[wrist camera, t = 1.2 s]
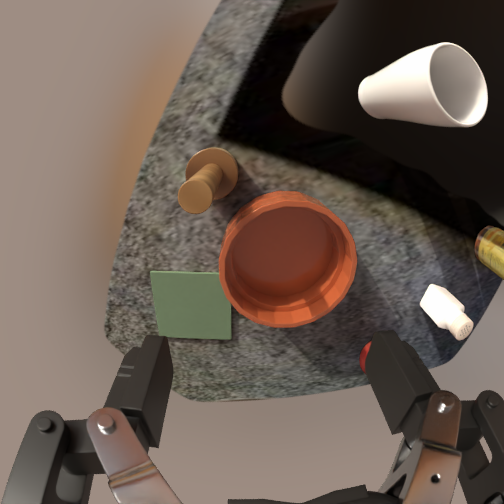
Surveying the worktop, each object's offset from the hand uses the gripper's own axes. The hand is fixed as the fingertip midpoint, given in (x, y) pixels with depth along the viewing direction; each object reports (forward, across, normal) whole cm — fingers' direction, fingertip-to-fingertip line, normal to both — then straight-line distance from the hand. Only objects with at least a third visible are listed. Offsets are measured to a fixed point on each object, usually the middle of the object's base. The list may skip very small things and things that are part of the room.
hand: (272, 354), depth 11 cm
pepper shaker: (+24, -28, +13) cm, 39 cm away
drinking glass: (+24, -14, -13) cm, 31 cm away
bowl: (+24, -4, +5) cm, 24 cm away
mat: (+23, +7, +13) cm, 28 cm away
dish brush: (+24, +4, -4) cm, 24 cm away
